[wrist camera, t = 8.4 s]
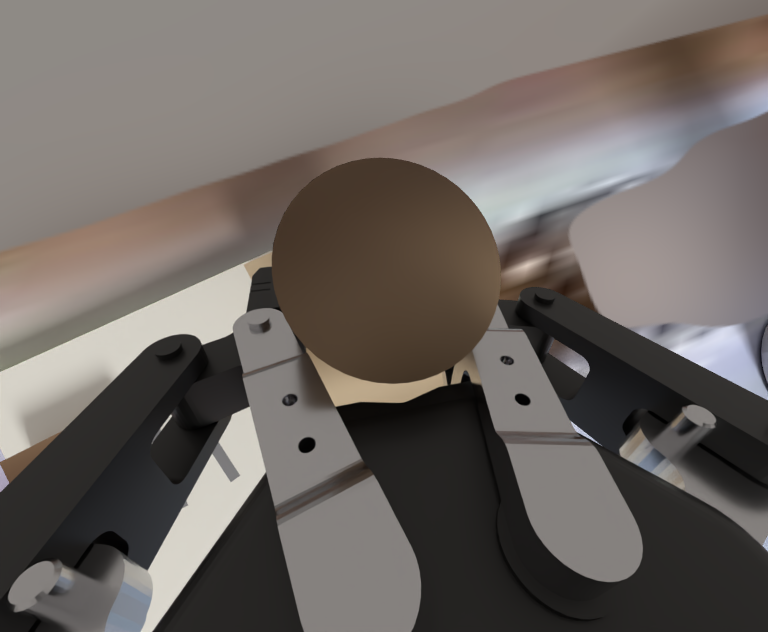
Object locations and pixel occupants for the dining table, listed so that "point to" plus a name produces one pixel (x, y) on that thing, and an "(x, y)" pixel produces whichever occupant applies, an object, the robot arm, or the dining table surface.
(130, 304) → the dining table surface
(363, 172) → the block
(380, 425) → the robot arm
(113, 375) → the board
